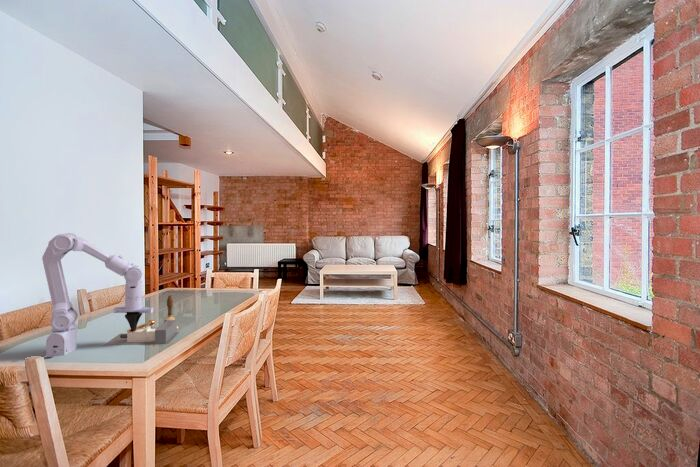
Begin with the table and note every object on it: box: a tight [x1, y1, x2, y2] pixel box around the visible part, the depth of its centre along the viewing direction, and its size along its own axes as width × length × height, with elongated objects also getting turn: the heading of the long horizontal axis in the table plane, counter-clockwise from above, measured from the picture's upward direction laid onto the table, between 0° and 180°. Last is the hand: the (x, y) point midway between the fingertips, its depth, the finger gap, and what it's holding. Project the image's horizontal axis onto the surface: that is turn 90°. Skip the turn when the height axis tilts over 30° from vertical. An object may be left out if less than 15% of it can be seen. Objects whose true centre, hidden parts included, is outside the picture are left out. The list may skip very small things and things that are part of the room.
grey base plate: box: [102, 319, 180, 347], centre depth 153 cm, size 16×24×6 cm, turn 100°
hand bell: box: [163, 294, 179, 330], centre depth 168 cm, size 8×8×16 cm
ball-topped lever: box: [126, 319, 156, 334], centre depth 153 cm, size 15×2×1 cm, turn 173°
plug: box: [120, 325, 157, 343], centre depth 150 cm, size 4×17×5 cm, turn 100°
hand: (133, 331), depth 147 cm, fingers closed, pressing on ball-topped lever
